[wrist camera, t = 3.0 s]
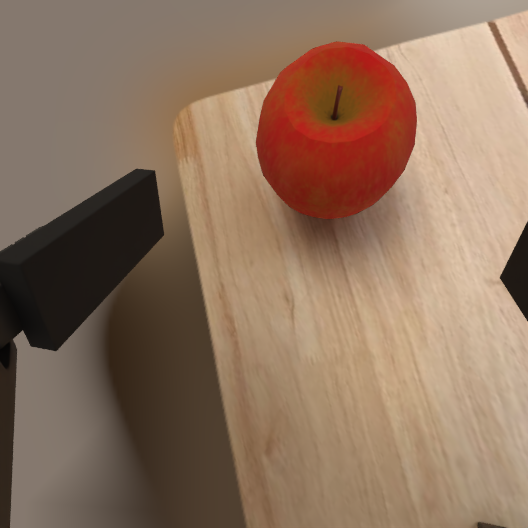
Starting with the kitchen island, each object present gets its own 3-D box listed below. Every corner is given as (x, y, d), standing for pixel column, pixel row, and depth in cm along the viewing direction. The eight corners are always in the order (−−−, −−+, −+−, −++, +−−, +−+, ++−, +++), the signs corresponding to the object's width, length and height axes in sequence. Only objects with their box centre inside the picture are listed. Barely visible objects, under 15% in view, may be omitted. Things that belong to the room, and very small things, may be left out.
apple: (261, 146, 27) (233, 20, 16) (373, 126, 26) (420, -20, 15) (276, 253, 25) (254, 189, 14) (398, 235, 24) (469, 153, 14)
